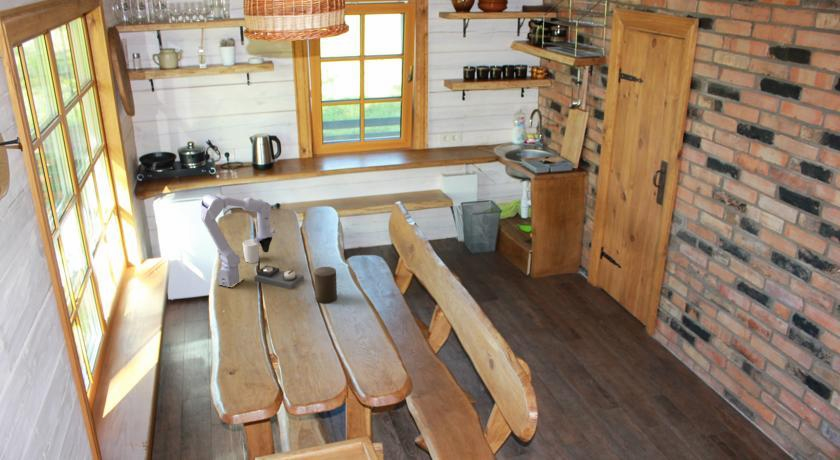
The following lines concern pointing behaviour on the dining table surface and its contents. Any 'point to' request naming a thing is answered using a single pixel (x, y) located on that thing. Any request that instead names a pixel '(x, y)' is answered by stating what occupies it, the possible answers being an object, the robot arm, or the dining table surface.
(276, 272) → the console
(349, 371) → the dining table surface
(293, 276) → the dial knob
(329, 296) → the pillar candle
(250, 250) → the white cup
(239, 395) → the dining table surface
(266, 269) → the press knob
